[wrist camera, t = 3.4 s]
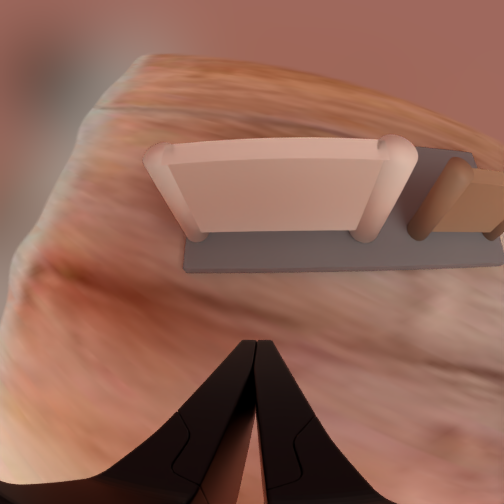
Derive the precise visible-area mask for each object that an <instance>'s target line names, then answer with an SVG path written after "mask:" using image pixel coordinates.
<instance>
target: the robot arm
mask: <svg viewBox="0 0 504 504" xmlns="http://www.w3.org/2000/svg"><path fill="white" fill-rule="evenodd" d="M255 413H256V420H257V431H258V442H259V453H260V464H261V475H262V486H263V497H264V504H397V503H394V502H392V501H390V500H388V499H386V498H384V497H383V496H382V495H380V494H379V493H378V492H377V491H375V490H374V489H373V488H372V487H371V485H370V484H369V483H368V482H367V481H366V480H365V479H364V478H363V477H362V475H361V474H360V473H359V472H358V471H357V470H356V469H355V468H354V466H353V465H352V464H351V463H350V462H349V461H348V459H347V458H346V457H345V456H344V455H343V454H342V452H341V451H340V450H339V449H338V447H337V446H336V445H335V444H334V442H333V441H332V440H331V438H330V437H329V435H328V434H327V432H326V431H325V429H324V428H323V426H322V424H321V423H320V421H319V419H318V418H317V417H316V415H315V413H314V411H313V410H312V408H311V406H310V405H309V403H308V401H307V400H306V398H305V396H304V394H303V393H302V391H301V389H300V388H299V386H298V384H297V383H296V381H295V379H294V377H293V376H292V374H291V372H290V371H289V369H288V367H287V365H286V364H285V362H284V360H283V359H282V357H281V355H280V353H279V352H278V350H277V348H276V346H275V345H274V343H273V341H271V340H258V341H256V340H242V341H241V342H240V343H239V344H238V345H237V346H236V348H235V349H234V350H233V351H232V352H231V353H230V354H229V355H228V357H227V358H226V359H225V360H224V361H223V362H222V363H221V364H220V365H219V366H218V368H217V369H216V370H215V371H214V372H213V373H212V374H211V375H210V376H209V377H208V378H207V380H206V381H205V382H204V383H203V384H202V385H201V386H200V387H199V388H198V389H197V390H196V391H195V392H194V394H193V395H192V396H191V397H190V398H189V399H188V400H187V401H186V402H185V403H184V404H183V405H182V406H181V407H180V408H179V409H178V412H175V413H174V415H173V416H172V417H171V418H170V419H169V420H168V421H167V422H166V423H165V424H164V425H163V426H162V427H160V428H159V429H158V430H157V431H156V432H155V433H154V434H153V435H152V436H150V437H149V438H148V439H147V440H146V441H144V442H143V443H142V444H141V445H139V446H138V447H137V448H135V449H134V450H133V451H132V452H130V453H129V454H128V455H126V456H125V457H124V458H122V459H121V460H120V461H118V462H117V463H116V464H114V465H113V466H112V467H110V468H109V469H107V470H106V471H104V472H102V473H100V474H98V475H96V476H94V477H90V478H87V479H80V480H73V481H64V482H54V483H42V484H26V485H19V484H10V483H6V482H2V481H0V504H236V502H237V498H238V493H239V489H240V484H241V480H242V475H243V471H244V466H245V462H246V457H247V452H248V448H249V443H250V438H251V433H252V429H253V424H254V419H255Z"/></svg>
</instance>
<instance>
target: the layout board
mask: <svg viewBox="0 0 504 504" xmlns="http://www.w3.org/2000/svg"><path fill="white" fill-rule="evenodd" d="M414 147H415V146H414ZM415 148H416V150H417V152H418V161H417V163H416V165H415V167H414V169H413V171H412V173H411V175H410V177H409V179H408V181H407V182H406V184H405V186H404V188H403V190H402V192H401V194H400V196H399V198H398V199H397V201H396V203H395V205H394V207H393V209H392V210H391V212H390V214H389V216H388V218H387V219H386V221H385V223H384V225H383V227H382V228H381V230H380V232H379V234H378V235H377V237H376V238H375V239H374V240H373V241H372V242H369V243H361V242H359V241H357V240H355V239H354V238H353V237H352V236H351V234H350V232H349V230H316V231H247V232H209V235H208V237H207V238H206V239H205V240H203V241H201V242H192V241H190V240H189V239H188V238H187V236H186V244H185V253H184V263H183V269H184V271H185V272H186V273H264V272H334V271H378V270H412V269H442V268H467V267H490V266H501V265H503V264H504V252H503V248H502V244H501V240H500V235H501V234H502V233H503V232H504V172H501V171H493V170H486V169H478V168H477V165H476V163H475V160H474V158H473V155H472V153H469V152H461V151H453V150H445V149H436V148H426V147H415Z"/></svg>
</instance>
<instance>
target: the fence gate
mask: <svg viewBox="0 0 504 504" xmlns="http://www.w3.org/2000/svg"><path fill="white" fill-rule="evenodd" d="M417 161H418V152H417V150H416V148H415V147H414V145H413V144H412V143H411V142H410V141H409V140H407V139H406V138H404V137H402V136H399V135H394V134H388V135H384V136H382V137H381V138H380V139H379V140H377V139H357V138H318V137H293V138H253V139H233V140H217V141H203V142H192V143H181V144H170V143H167V142H161V143H157V144H155V145H153V146H151V147H150V148H149V149H148V150H147V151H146V152H145V154H144V156H143V164H144V166H145V168H146V169H147V171H148V173H149V175H150V176H151V178H152V180H153V181H154V183H155V185H156V187H157V188H158V190H159V192H160V193H161V195H162V197H163V198H164V200H165V202H166V203H167V205H168V207H169V208H170V210H171V212H172V213H173V215H174V217H175V218H176V220H177V222H178V223H179V225H180V227H181V228H182V230H183V232H184V233H185V235H186V236H187V238H188V239H189V240H190V241H192V242H201V241H203V240H205V239H206V238H207V237H208V235H209V232H247V231H316V230H349V232H350V234H351V236H352V237H353V238H354V239H355V240H357V241H359V242H361V243H369V242H372V241H373V240H374V239H375V238H376V237H377V235H378V234H379V232H380V230H381V228H382V227H383V225H384V223H385V221H386V219H387V218H388V216H389V214H390V212H391V210H392V209H393V207H394V205H395V203H396V201H397V199H398V198H399V196H400V194H401V192H402V190H403V188H404V186H405V184H406V182H407V181H408V179H409V177H410V175H411V173H412V171H413V169H414V167H415V165H416V163H417Z"/></svg>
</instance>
